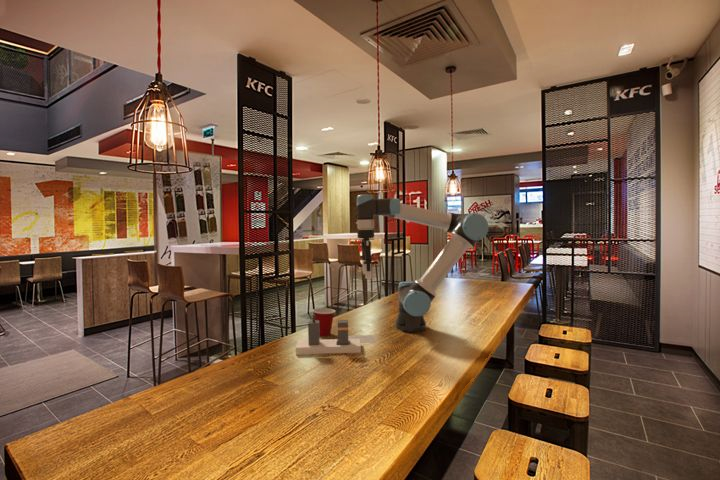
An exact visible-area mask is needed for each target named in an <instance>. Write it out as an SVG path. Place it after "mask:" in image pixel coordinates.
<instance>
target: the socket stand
mask: <svg viewBox="0 0 720 480" xmlns="http://www.w3.org/2000/svg"><path fill="white" fill-rule="evenodd" d="M311 315H312V320H308V323H307V325H308V326H307V329H308V330H307V331H308V333H307V334H308V339H301V340H300V339H298V341H297V342H296V346H295V356H308V355H310V356H312V355H314V354H318V355H321V354H351V353H354V354H355V353H359V354H360V353H362V352H361V351H362V350H361V349H362V345H361V343H360V339H348V345H338V338H334V339H330V338H329V339H320V337H321V336H320V331H319V320H315V314H314V313H313V314H311Z"/></svg>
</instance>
